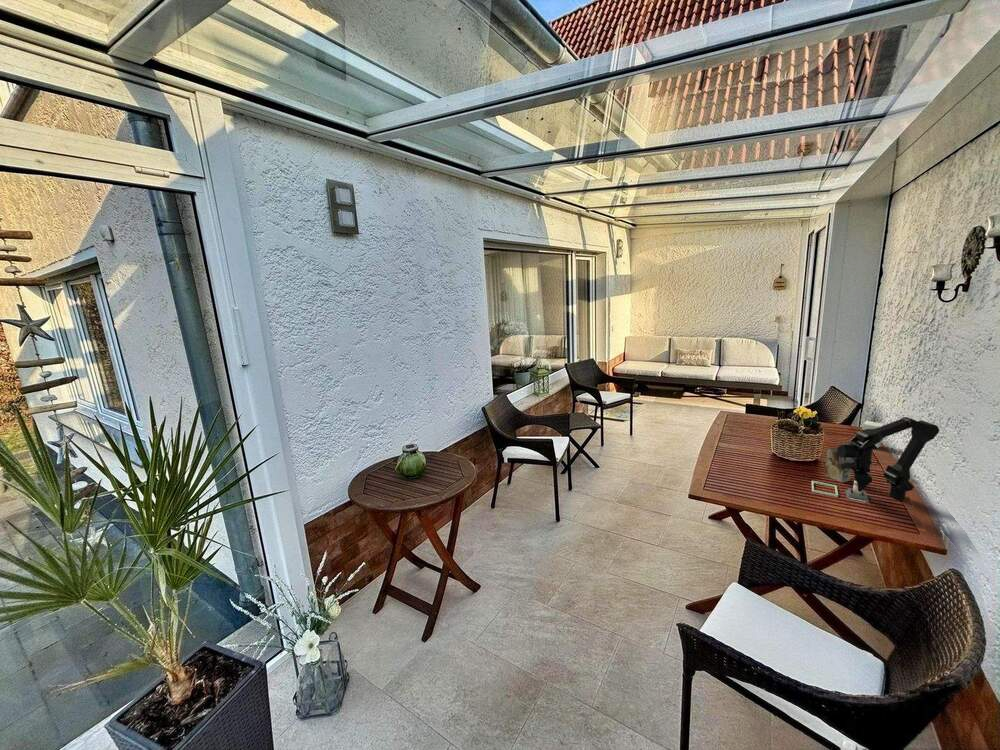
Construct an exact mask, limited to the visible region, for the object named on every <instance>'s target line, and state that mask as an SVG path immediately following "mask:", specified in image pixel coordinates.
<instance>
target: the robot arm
mask: <svg viewBox="0 0 1000 750" xmlns="http://www.w3.org/2000/svg"><path fill="white" fill-rule="evenodd" d="M908 429H911V431H910V432H911V438H910V440H909V441H908V442H907V443H908V444H907V445H906V446H905V448H904V450H903V452H902V454H900V456H899V459H898V460H897V462H896V463H895V464H893V465H892V466H891V465H887V466H886V468H885V470H884V471H883V477H884V478H885V481H886V483H888V484H890V486H889V487H890V488H889V492H888V496H889V497H891V498H892V499H894V500H896V501H897V500H898V501H903V500H906V497H907V492H909V491H913V489H914V488H915V487H914V485H913V484H912V483H911V482H910V479H911V472H910V469H911V467H912V466H913V465H914V463H915V461H916V460H917V458H918V456H919V455H920V453H921V452H922V450H923V448H924V447H925V445H926V443H928V442H931V441H932V440H934V439H935V438H936V436H937V435H938V434H939V433H940V428H939V426H938V425H936V424H935V423H934V424H933V423H931V422H928V421H925V420H915V419H913V418H910V417H908V416H904V417H901V418H900V419H897V420H895V421H891V422H889V423H887V424H884V426H881V427H879V428H875V429H865V430H861V429H860V430H858V431H857V432H856V434H855V435H854V436H853V437H851V438H850V440H849V441H848V443H846V442H841V445H839V446H838V447H837V453H838V455H839V456H840V457H841V458H853V459H848V460H840V461H839V464H840V467H841V469H842V470H845V469H851V471H853V480H854V479H855V480H856V481H857V484H858V491H859V492H861V491H862V490H863V491H864V490H865V488H866V487H867V486H869V485H870V484H871V483H872V482H873V476H872V475H871V474H870V473H871V465H872V457H873V452H874V451H873V450H876V451H877V449H878V448H877V447H876V446H875V444H877V443H879V442H881V443H882V441H883V439H885V438H887V437H889V436H893V435H895V434H897V433H900V432H903V431H905V430H908ZM881 440H882V441H881ZM860 442H861V443H863V444H861V443H860ZM878 450H879V449H878Z"/></svg>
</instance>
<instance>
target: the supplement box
mask: <svg viewBox="0 0 1000 750" xmlns="http://www.w3.org/2000/svg"><path fill="white" fill-rule="evenodd" d="M884 425H885V423H882V422H876V421H871V420H866V421H864V422H863V424H862V430H865V429H875V428H879V427H881V426H884ZM882 441H883V439H882V440H881V442H879V443H877V444H875V446H876V447H877V448H879V447H880V448H881V445H882ZM859 443H861V442H859ZM861 444H863V443H861ZM880 448H879V449H880Z"/></svg>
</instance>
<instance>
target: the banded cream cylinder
mask: <svg viewBox="0 0 1000 750" xmlns="http://www.w3.org/2000/svg"><path fill="white" fill-rule="evenodd" d="M853 480H854V481H853V486H852V489H853V492H852V494H856V495H861V496H862V493H863V491H864V489H863V490H862V491H861V492H859V491H858V484H857V481H856V480H855V479H854V478H853Z"/></svg>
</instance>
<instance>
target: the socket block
mask: <svg viewBox="0 0 1000 750" xmlns="http://www.w3.org/2000/svg"><path fill="white" fill-rule="evenodd" d="M844 490H845V495H846V499H847V500H853V501H859V502H863V503H867V504H869V503H870V502H869V501H870V500H869V497H868V494H867V492H866V491H865V490H863V493H862V496H861V495H856V494H852V492H853V488H848V487H847V489H844Z"/></svg>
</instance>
